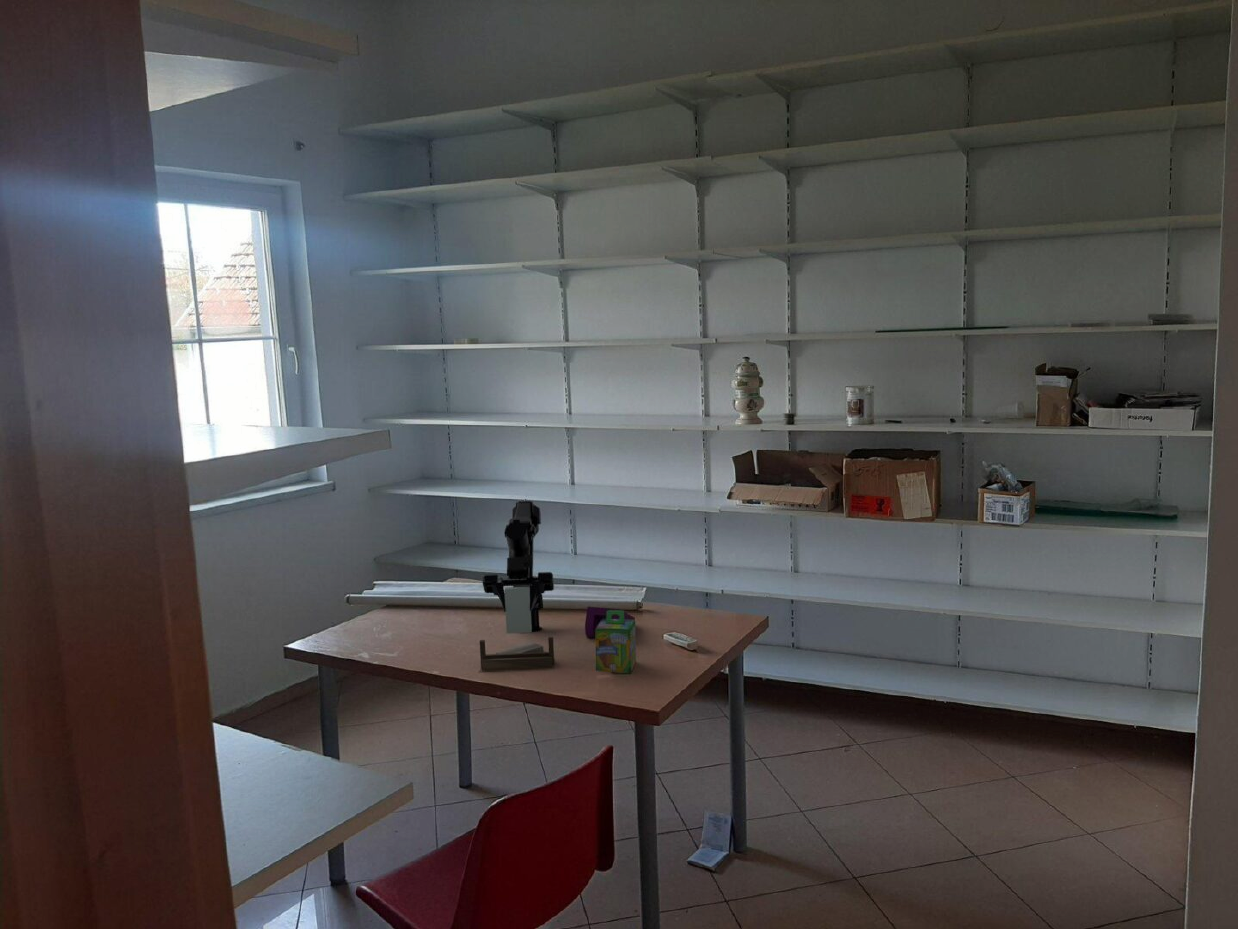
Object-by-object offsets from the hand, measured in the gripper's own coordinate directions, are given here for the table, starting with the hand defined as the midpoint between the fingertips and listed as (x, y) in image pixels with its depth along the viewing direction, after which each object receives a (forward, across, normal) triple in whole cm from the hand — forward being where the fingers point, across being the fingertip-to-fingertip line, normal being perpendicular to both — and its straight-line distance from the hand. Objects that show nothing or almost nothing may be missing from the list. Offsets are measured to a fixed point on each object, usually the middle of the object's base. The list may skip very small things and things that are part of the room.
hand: (517, 610), depth 243 cm
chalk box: (+16, +26, +4) cm, 30 cm away
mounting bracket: (-4, +25, +24) cm, 35 cm away
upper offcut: (+8, 0, +10) cm, 13 cm away
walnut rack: (+14, 0, +5) cm, 15 cm away
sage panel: (+4, 0, +5) cm, 6 cm away
